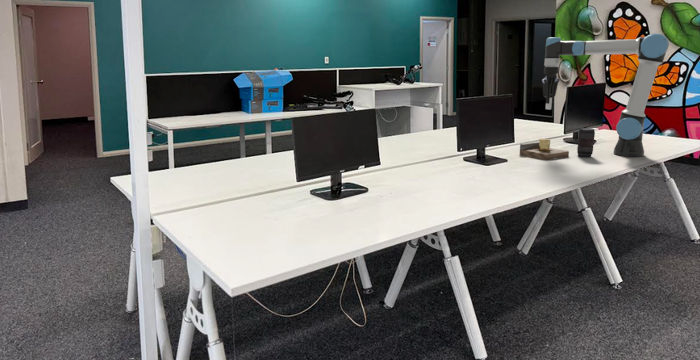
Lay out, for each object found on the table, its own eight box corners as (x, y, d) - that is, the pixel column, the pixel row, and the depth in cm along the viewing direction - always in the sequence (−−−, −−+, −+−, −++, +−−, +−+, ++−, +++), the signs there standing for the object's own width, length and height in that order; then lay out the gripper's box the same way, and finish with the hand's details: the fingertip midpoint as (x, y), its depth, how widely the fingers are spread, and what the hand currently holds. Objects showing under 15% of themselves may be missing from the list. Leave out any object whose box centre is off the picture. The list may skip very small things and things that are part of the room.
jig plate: (568, 156, 302) (569, 145, 300) (546, 160, 293) (547, 148, 291) (541, 151, 317) (542, 141, 315) (519, 154, 307) (520, 144, 306)
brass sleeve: (542, 154, 308) (544, 138, 306) (551, 156, 304) (552, 139, 302) (536, 155, 306) (537, 139, 303) (544, 157, 301) (545, 140, 299)
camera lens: (589, 155, 306) (592, 128, 303) (594, 158, 298) (597, 130, 295) (574, 155, 307) (577, 127, 304) (578, 157, 299) (581, 129, 296)
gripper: (549, 66, 301) (546, 110, 306) (564, 66, 308) (561, 109, 313) (538, 66, 307) (535, 109, 312) (553, 66, 314) (550, 108, 319)
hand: (548, 109), depth 313 cm, fingers closed
